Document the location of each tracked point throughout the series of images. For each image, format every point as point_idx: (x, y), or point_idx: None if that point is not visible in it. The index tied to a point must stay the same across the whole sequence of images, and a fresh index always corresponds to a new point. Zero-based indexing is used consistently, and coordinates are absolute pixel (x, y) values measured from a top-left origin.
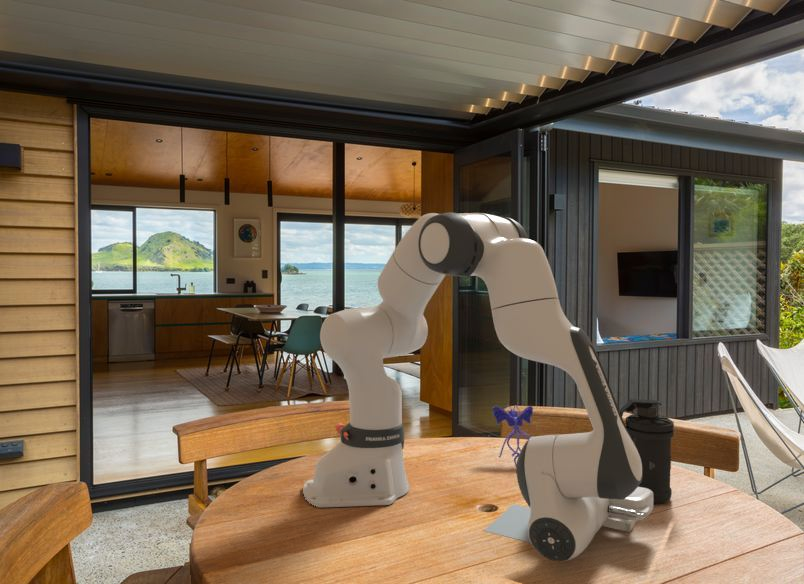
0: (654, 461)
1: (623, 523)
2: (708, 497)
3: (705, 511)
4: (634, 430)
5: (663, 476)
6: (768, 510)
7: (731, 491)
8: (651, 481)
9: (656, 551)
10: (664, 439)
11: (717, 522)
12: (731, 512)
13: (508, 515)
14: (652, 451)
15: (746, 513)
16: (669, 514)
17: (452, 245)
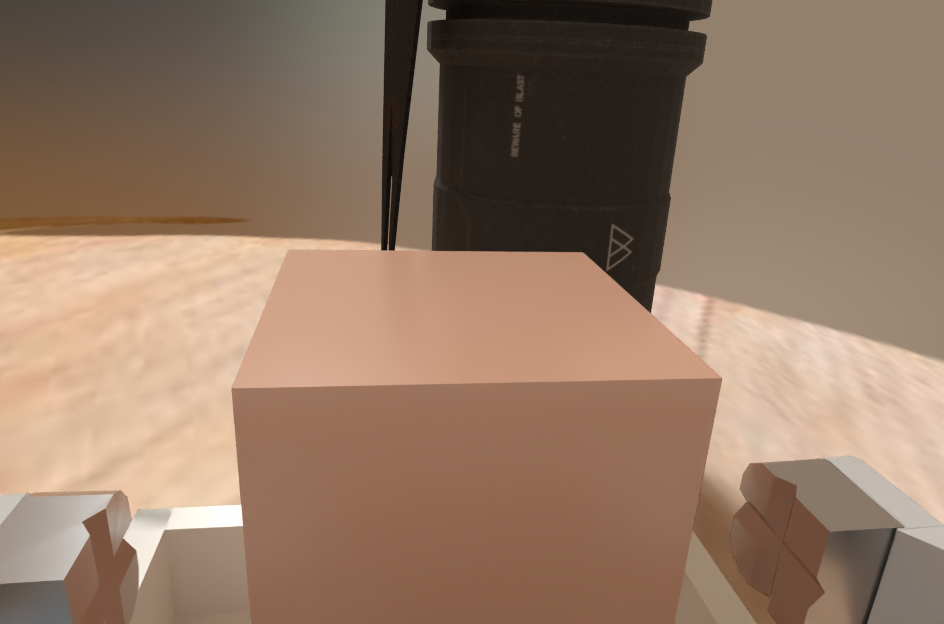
0: (633, 218)
1: None
2: (700, 344)
3: (798, 423)
4: (522, 19)
5: (650, 298)
6: (898, 350)
7: (711, 303)
8: None
9: None
10: (685, 73)
11: (934, 484)
12: (857, 396)
13: None
14: (631, 154)
15: (891, 385)
16: (733, 510)
17: None
